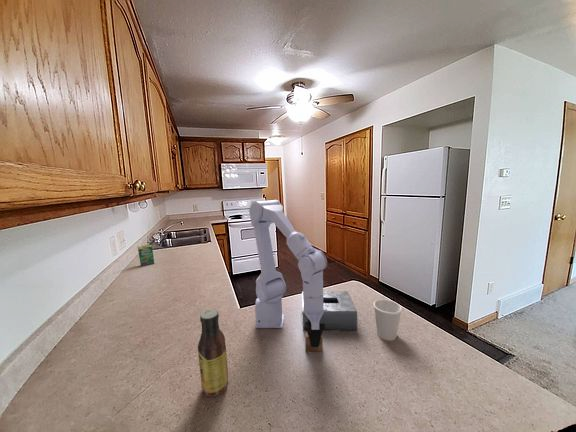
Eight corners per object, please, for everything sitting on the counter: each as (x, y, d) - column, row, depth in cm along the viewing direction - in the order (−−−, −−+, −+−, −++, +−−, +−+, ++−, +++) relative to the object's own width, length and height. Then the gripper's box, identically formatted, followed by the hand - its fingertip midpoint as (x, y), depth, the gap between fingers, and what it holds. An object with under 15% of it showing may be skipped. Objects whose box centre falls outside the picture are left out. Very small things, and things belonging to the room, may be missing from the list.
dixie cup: (379, 323, 77) (379, 296, 76) (404, 334, 72) (406, 305, 70) (368, 334, 72) (368, 306, 70) (395, 347, 66) (396, 316, 64)
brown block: (305, 352, 65) (305, 336, 64) (305, 347, 67) (305, 332, 66) (322, 352, 65) (322, 336, 64) (321, 347, 67) (321, 332, 66)
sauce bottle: (206, 377, 57) (200, 305, 55) (230, 375, 58) (225, 303, 55) (198, 402, 51) (190, 321, 48) (225, 399, 51) (220, 319, 49)
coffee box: (140, 266, 143) (137, 247, 142) (139, 265, 146) (137, 246, 144) (154, 263, 148) (152, 244, 146) (154, 262, 150) (152, 244, 149)
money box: (303, 330, 75) (302, 311, 74) (302, 308, 89) (301, 291, 88) (356, 330, 74) (357, 311, 73) (347, 308, 88) (347, 291, 87)
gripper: (330, 306, 56) (331, 355, 58) (324, 282, 71) (324, 322, 72) (303, 306, 56) (304, 355, 58) (302, 282, 71) (303, 322, 73)
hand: (313, 337), depth 65 cm, fingers open, 7 cm apart
